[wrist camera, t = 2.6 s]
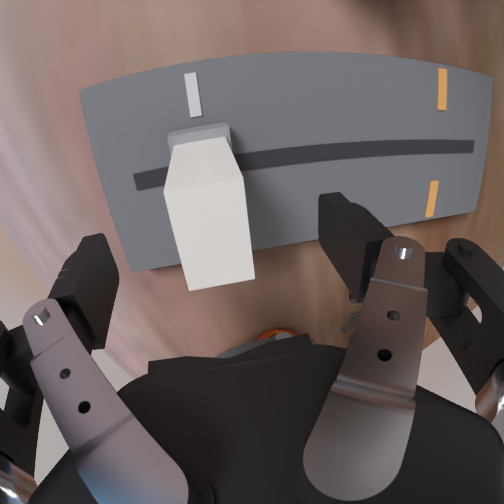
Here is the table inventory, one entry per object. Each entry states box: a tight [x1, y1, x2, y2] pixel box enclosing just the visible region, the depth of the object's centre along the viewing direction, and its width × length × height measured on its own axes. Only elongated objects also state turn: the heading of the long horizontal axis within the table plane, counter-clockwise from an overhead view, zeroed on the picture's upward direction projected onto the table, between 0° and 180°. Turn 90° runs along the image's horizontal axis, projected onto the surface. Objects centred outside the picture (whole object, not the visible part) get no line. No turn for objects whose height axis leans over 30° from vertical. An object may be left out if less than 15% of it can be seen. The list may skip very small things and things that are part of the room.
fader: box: [163, 122, 255, 291], centre depth 14 cm, size 5×3×7 cm, turn 6°
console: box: [79, 52, 493, 272], centre depth 18 cm, size 12×28×2 cm, turn 96°
